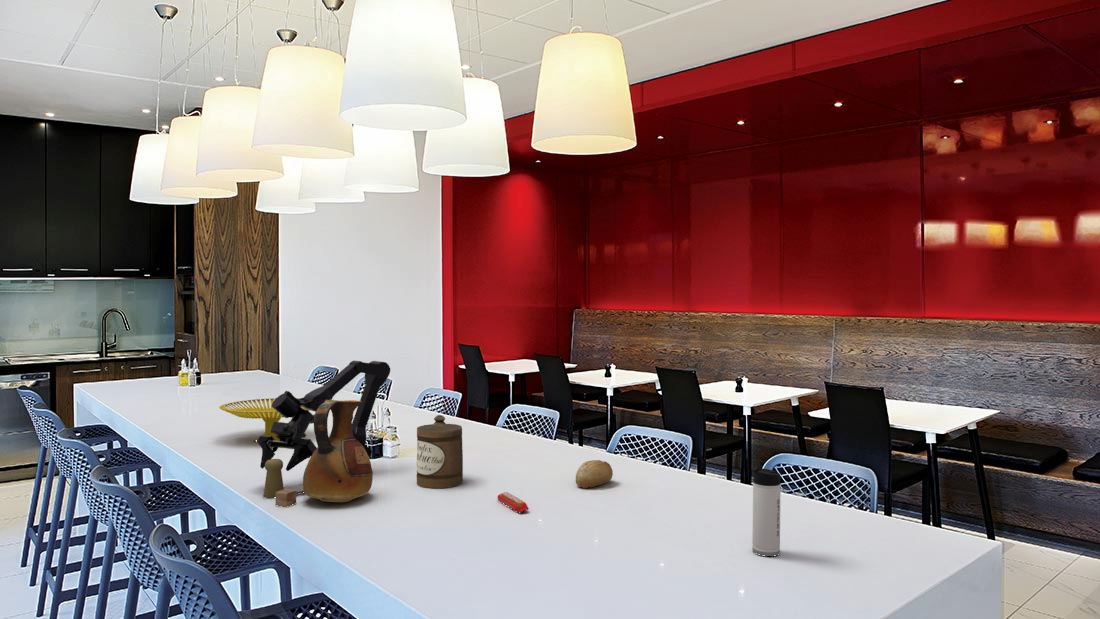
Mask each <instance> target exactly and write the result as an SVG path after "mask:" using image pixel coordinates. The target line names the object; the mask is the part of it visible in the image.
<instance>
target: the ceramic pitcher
mask: <svg viewBox="0 0 1100 619" xmlns="http://www.w3.org/2000/svg"><path fill="white" fill-rule="evenodd" d="M361 403H362V401H360V400H356V399H355V400H353V399H352V400H351V399H350V400H349V399H348V400H336V399H333V398H332V400H331V399H330V400H325V402H324V403H323V404H321V405H320V406H319V407H318V409H317V410H316V412H315V411H314V412H315V413H314V414H315V415H314V414H313V415H314V423H313V432H314V436H315V441H316V445H317V446H316V447H317V449H316V450H315V451H314V453H313V454H312V456H310V458H309V459H308V462H307V464H306V467H305V469H304V472H303V475H302V484H303V490H304V493H303V494H305V495H306V496H307V497H310V498H313V499H316V500H317V499H318V500H320V501H321V502H326V503H327V502H330V503H331V502H332V503H348V502H351V501H352V500H354V499H357V498H359V497H362V496H365V495H366V494H368V493H369V492H370V490H371V489H372V485H373V479H374V478H373V477H374V476H373V475H374V474H373V468H372V462H371V459H370V457H369V456H368V454H367V452H366V450H365V449H364V447H363V446H362V445H361V443H360V442H359V441H357V440H356V439H355V438H354V435H353V432H352V422H353V419H354V413H355V410H357V408H358V406H359V405H360V404H361ZM330 412H331V416H332V426H331V431H330V434H329V432H328V430H329V429H328V419H329V418H328V417H329V414H330Z"/></svg>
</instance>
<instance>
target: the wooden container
mask: <svg viewBox="0 0 1100 619" xmlns="http://www.w3.org/2000/svg"><path fill="white" fill-rule="evenodd" d="M433 420H434V422H433V423H431V424H423V425H420V426H417V427H416V439H417V440H416V485H417V486H419V487H421V488H425V487H426V489H447V488H446V487H450V488H454V487H457V485H458V486H460V485H462V484H463V482H464V472H463V470H464V462H463V461H464V457H463V455H464V454H463V426H462V425H460V424H455V423H446V422H445V420H446V418H445V416H444V415H443V414H442V415H441V414H437V415H436V416H435V417H434V418H433ZM461 483H462V484H461ZM459 484H460V485H459ZM453 486H454V487H453Z"/></svg>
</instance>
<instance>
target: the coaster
mask: <svg viewBox="0 0 1100 619" xmlns="http://www.w3.org/2000/svg"><path fill="white" fill-rule="evenodd" d="M284 489H290V490H296V494H298V493H303V492H304V490H303V483H298V484H293V485H289V486H284ZM303 494H304V493H303ZM298 495H299V494H298Z"/></svg>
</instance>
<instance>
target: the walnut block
mask: <svg viewBox="0 0 1100 619" xmlns="http://www.w3.org/2000/svg"><path fill="white" fill-rule="evenodd" d="M295 503H296V504H297V495H296V490H290V489H284V490H281V491H278V492H276V498H275V505H278V506H277V507H280V506H283V507H282V508H288V507H287V506H289V507H291V506H290V505H292V504H294V505H296V504H295ZM292 506H293V505H292Z"/></svg>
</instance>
